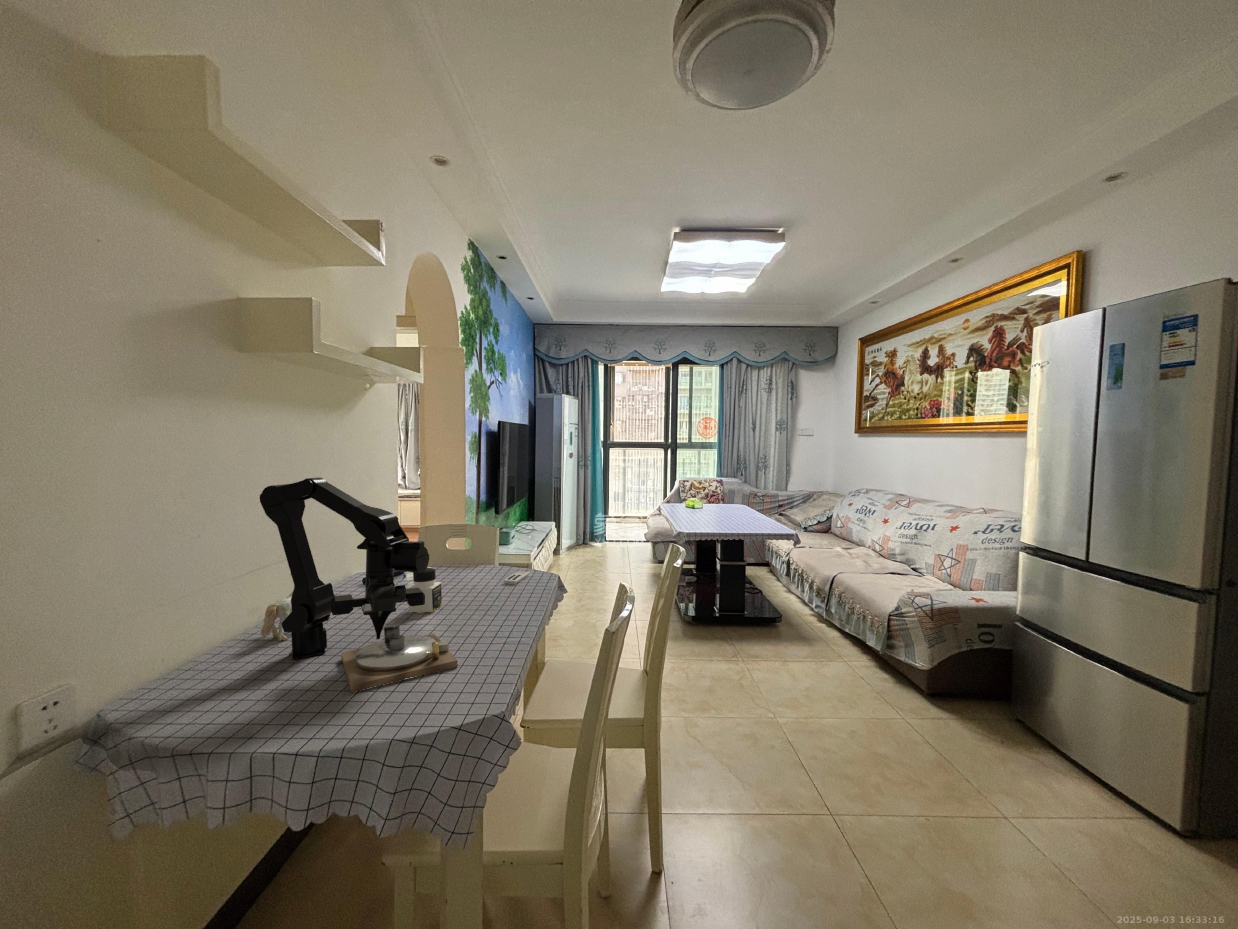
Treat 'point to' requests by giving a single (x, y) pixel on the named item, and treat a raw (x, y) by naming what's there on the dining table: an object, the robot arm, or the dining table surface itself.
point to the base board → (368, 679)
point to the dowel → (435, 650)
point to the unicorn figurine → (272, 612)
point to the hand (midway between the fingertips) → (378, 638)
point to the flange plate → (396, 652)
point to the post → (397, 642)
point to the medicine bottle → (427, 590)
